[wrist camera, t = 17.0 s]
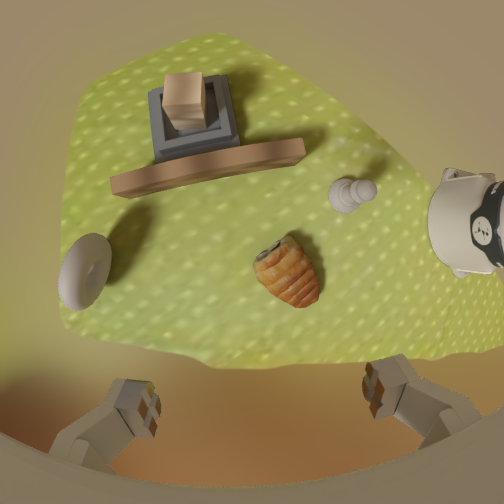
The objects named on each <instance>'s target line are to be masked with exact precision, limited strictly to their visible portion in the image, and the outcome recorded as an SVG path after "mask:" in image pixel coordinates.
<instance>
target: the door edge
mask: <svg viewBox="0 0 504 504" xmlns="http://www.w3.org/2000/svg"><path fill="white" fill-rule="evenodd" d="M305 155H306V150H305V146H304V142H303V138H294V139H286V140H278V141H271V142H264V143H257V144H251V145H245V146H239V147H233V148H228V149H222V150H217V151H212V152H207V153H202V154H197V155H193V156H188V157H184V158H180V159H175V160H171V161H167V162H163V163H159V164H155V165H151V166H148V167H144V168H140V169H137V170H133V171H130V172H126V173H123V174H119V175H116V176H113V177H110V182H111V190H112V194H113V195H117V196H120V197H124V198H128V199H132V198H136V197H140V196H144V195H147V194H151V193H155V192H159V191H164V190H168V189H172V188H176V187H181V186H185V185H190V184H194V183H199V182H204V181H208V180H213V179H218V178H223V177H229V176H234V175H239V174H245V173H251V172H256V171H262V170H268V169H275V168H281V167H288V166H295V165H296V164H297V163H298V162H299V161H300V160H301V159H302V158H303V157H304V156H305Z"/></svg>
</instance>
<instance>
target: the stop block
mask: <svg viewBox="0 0 504 504" xmlns="http://www.w3.org/2000/svg"><path fill="white" fill-rule="evenodd" d="M207 105H208V101H207V96H206V90H205V85H204V79H203V74H202V72H193V73H181V74H171V75H165V83H164V92H163V102H162V107H163V109H164V110H165V112H166V114H167V116H168V117H169V119H170V121H171V123H172V124H173V126H174V128H175V130H176V131H177V130H191V129H207Z"/></svg>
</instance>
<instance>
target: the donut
mask: <svg viewBox="0 0 504 504" xmlns="http://www.w3.org/2000/svg"><path fill="white" fill-rule="evenodd" d="M111 261H112V250H111V246H110V244H109V242H108V240H107V239H106V238H105V237H104V236H103V235H100V234H97V233H90V234H87V235H84V236H82V237H81V238H80V239H78V240H77V241H76V242H75V243H74V244H73V245H72V247H71V248H70V249H69V251H68V252H67V254H66V256H65V258H64V260H63V262H62V265H61V268H60V272H59V277H58V290H59V296H60V298H61V300H62V302H63V303H64V305H65V306H66V307H67V308H70V309H72V310H74V311H80V310H84V309H86V308H88V307H89V306H90V305H92V304H93V302H94V301H95V300H96V299H97V298H98V296H99V295H100V293H101V291H102V290H103V287H104V285H105V283H106V281H107V278H108V275H109V272H110V268H111Z"/></svg>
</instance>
